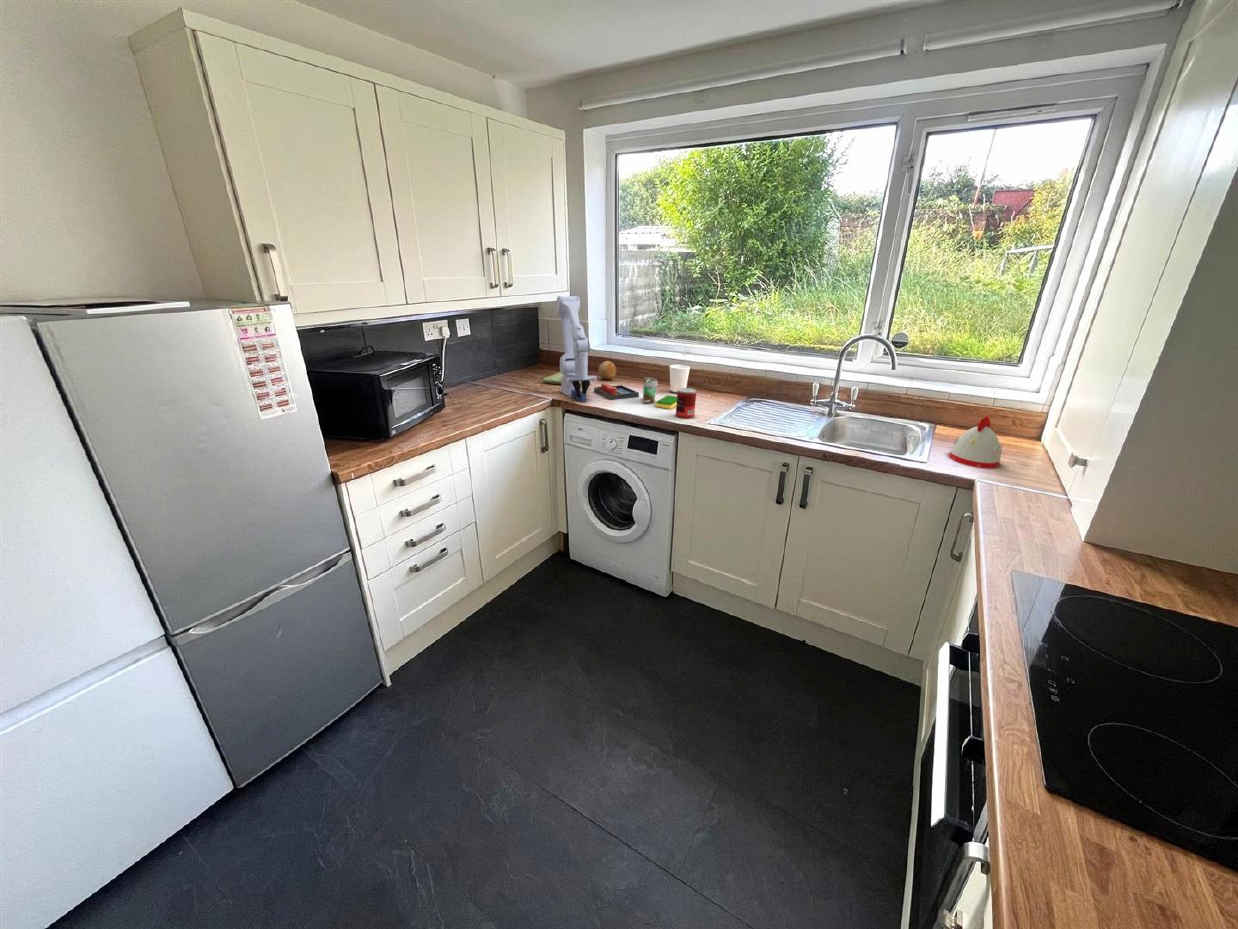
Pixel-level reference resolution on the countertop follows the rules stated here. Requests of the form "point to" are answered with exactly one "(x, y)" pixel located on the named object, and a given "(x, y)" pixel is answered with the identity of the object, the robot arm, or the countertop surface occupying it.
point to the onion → (607, 370)
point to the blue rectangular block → (582, 396)
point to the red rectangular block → (609, 389)
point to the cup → (678, 377)
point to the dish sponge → (667, 402)
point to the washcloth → (553, 379)
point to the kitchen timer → (977, 447)
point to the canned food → (685, 402)
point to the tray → (618, 392)
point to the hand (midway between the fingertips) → (581, 397)
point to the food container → (649, 390)
